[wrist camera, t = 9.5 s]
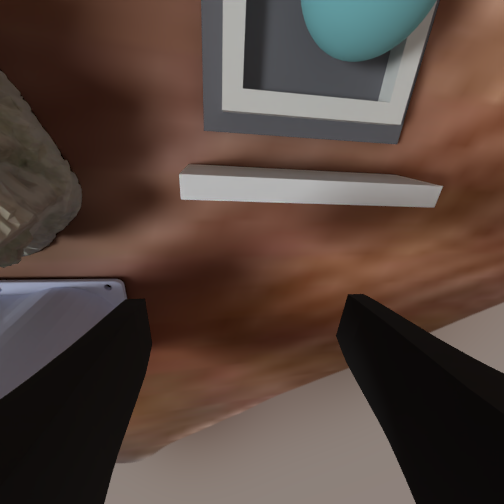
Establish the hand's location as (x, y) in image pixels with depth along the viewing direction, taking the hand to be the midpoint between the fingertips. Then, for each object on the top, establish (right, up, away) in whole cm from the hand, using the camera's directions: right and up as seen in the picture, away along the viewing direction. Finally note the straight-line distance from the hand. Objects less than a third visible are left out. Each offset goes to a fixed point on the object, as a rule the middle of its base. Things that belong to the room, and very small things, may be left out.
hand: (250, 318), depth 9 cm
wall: (+3, +7, +7) cm, 11 cm away
